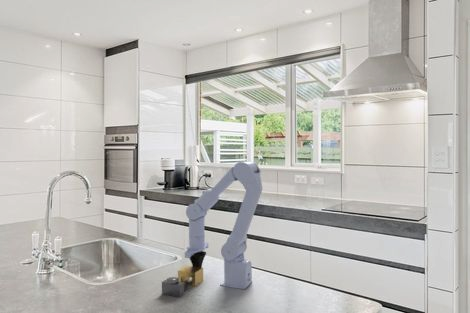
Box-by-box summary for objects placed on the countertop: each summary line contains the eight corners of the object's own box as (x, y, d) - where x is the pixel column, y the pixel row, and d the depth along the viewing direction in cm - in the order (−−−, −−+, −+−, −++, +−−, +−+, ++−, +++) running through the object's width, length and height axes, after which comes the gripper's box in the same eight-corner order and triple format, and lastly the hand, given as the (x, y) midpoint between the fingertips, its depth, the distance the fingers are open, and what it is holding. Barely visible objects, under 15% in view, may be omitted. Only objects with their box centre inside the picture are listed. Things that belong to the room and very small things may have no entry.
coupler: (193, 287, 127) (192, 273, 127) (178, 298, 118) (178, 282, 118) (175, 285, 129) (175, 271, 129) (160, 294, 121) (160, 279, 121)
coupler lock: (203, 280, 134) (203, 267, 133) (195, 286, 128) (195, 273, 128) (186, 278, 136) (186, 265, 136) (178, 283, 131) (177, 270, 131)
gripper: (197, 230, 144) (197, 264, 145) (177, 239, 131) (177, 276, 131) (213, 232, 142) (213, 266, 142) (194, 241, 128) (194, 279, 129)
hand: (197, 271), depth 137 cm, fingers closed
